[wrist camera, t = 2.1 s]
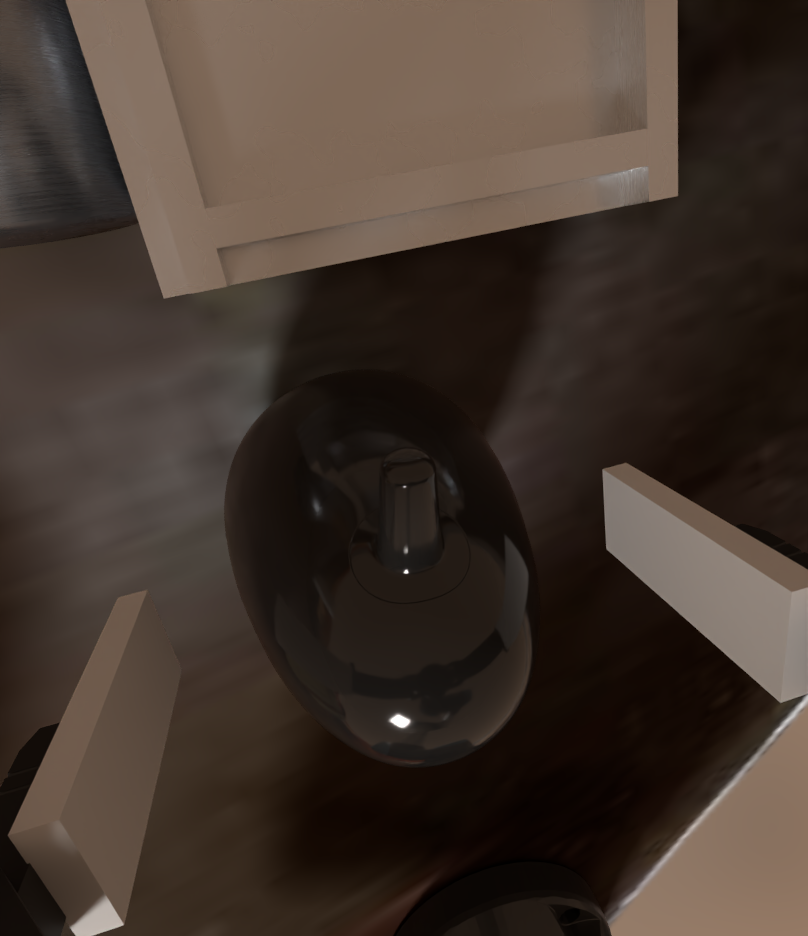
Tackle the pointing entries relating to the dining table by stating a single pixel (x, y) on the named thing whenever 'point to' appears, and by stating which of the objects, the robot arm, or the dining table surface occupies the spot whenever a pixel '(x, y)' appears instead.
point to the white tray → (326, 124)
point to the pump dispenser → (385, 566)
